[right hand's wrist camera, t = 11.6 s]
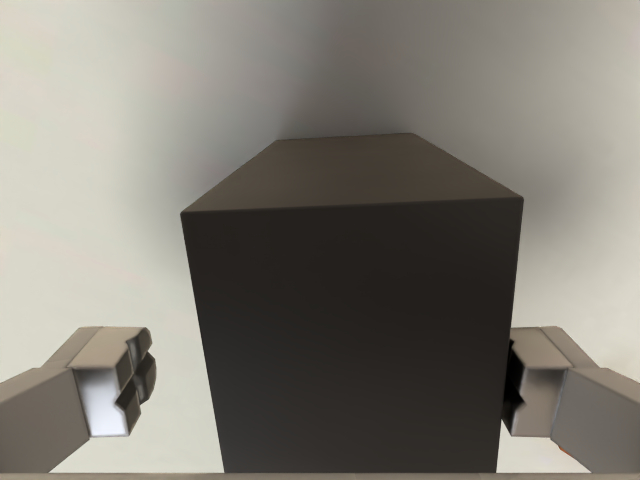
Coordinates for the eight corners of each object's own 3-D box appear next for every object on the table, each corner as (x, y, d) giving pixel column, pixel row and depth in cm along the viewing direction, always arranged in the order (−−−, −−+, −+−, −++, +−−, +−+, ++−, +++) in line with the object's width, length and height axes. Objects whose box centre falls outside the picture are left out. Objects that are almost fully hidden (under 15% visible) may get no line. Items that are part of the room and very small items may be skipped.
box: (275, 140, 20) (178, 212, 8) (413, 132, 19) (525, 196, 8) (308, 503, 27) (283, 816, 15) (408, 503, 27) (460, 825, 15)
